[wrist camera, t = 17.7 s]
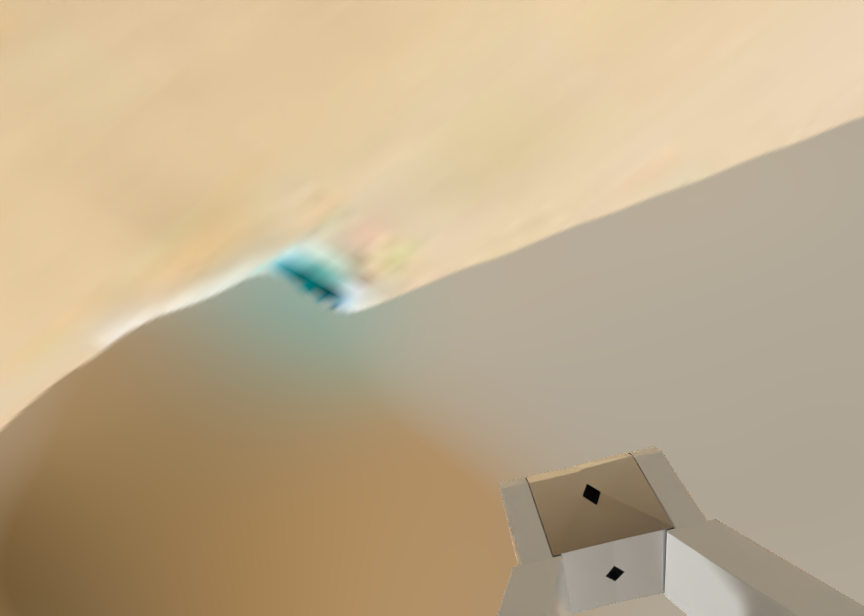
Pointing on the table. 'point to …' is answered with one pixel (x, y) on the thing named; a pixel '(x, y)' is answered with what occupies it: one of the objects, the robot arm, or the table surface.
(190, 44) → the table surface
